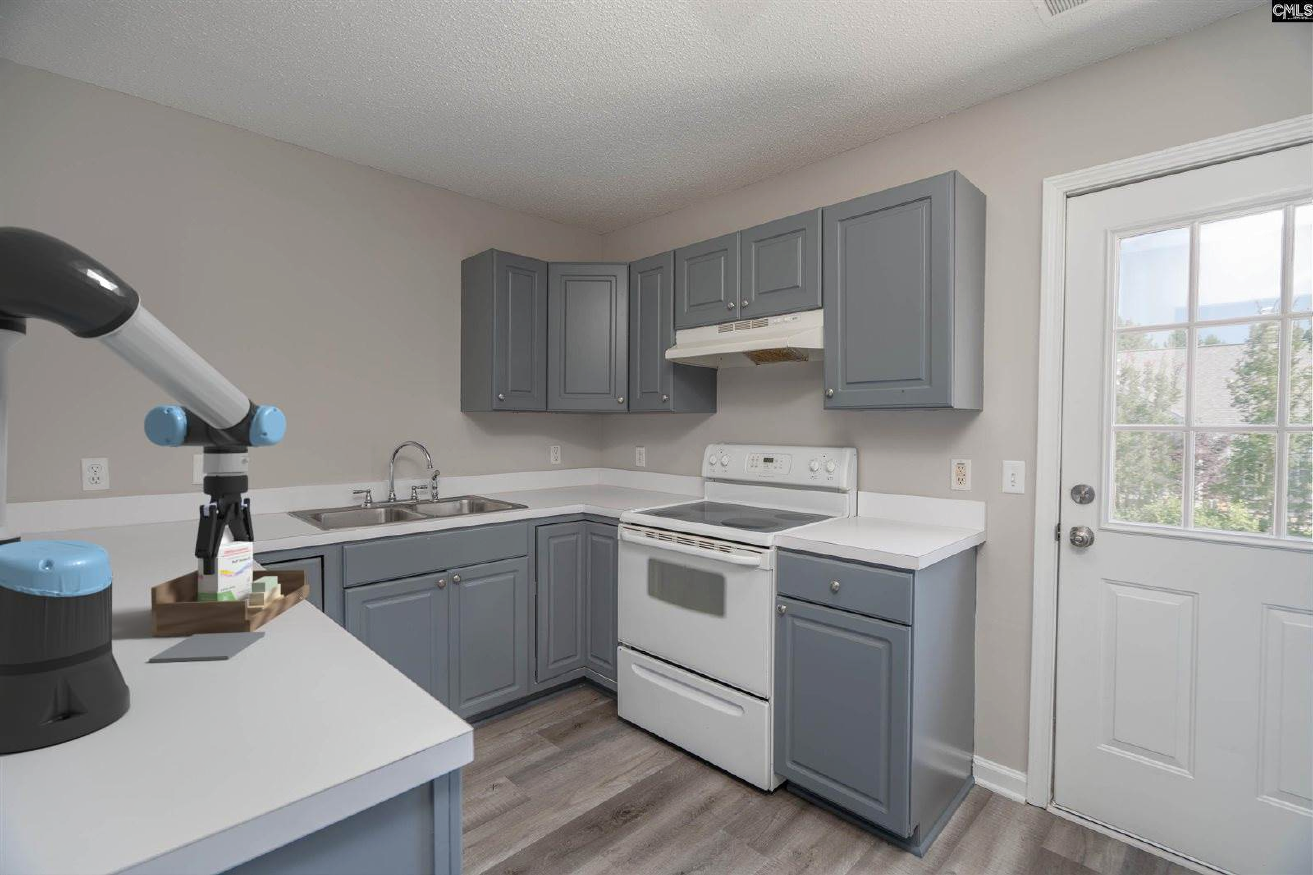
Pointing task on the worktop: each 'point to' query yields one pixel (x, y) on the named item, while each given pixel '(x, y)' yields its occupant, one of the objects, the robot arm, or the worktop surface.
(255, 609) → the offcut bottom
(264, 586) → the offcut top
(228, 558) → the ink box
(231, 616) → the rack
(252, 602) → the block
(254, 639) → the mat
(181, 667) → the worktop surface
